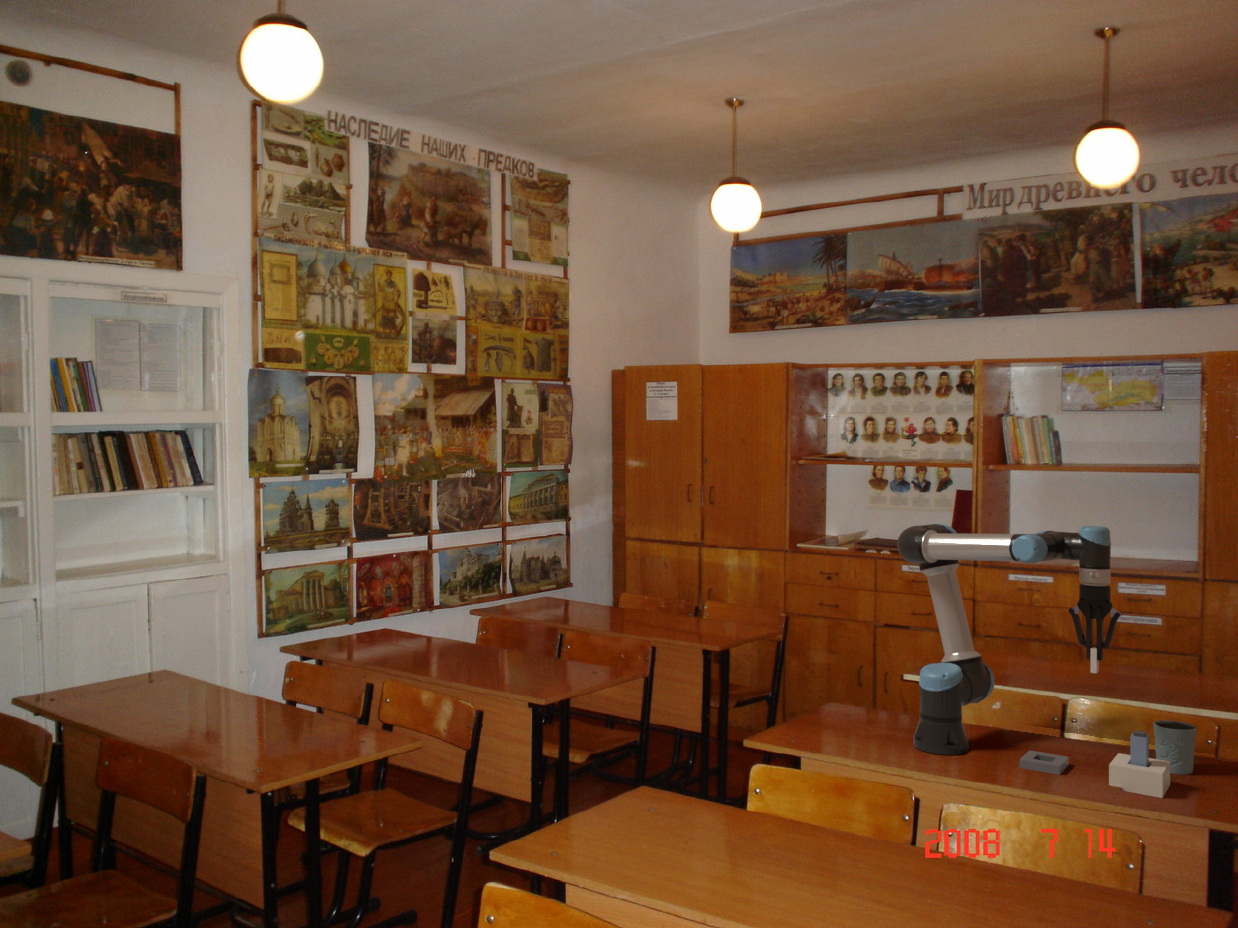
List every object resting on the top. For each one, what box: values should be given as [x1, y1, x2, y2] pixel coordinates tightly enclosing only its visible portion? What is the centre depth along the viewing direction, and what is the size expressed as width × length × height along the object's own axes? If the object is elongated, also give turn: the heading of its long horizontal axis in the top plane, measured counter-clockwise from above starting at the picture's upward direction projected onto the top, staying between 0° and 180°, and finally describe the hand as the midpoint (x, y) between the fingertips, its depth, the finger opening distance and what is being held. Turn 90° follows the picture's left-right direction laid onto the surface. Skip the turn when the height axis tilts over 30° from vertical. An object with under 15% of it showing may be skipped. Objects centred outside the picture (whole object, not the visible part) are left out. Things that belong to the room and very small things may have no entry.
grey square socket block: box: [1019, 750, 1070, 775], centre depth 264 cm, size 10×10×3 cm
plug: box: [1129, 729, 1150, 767], centre depth 250 cm, size 4×4×13 cm
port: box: [1108, 752, 1171, 799], centre depth 250 cm, size 12×12×6 cm
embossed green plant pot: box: [1153, 719, 1198, 776], centre depth 264 cm, size 10×10×12 cm
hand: (1094, 671), depth 263 cm, fingers closed
